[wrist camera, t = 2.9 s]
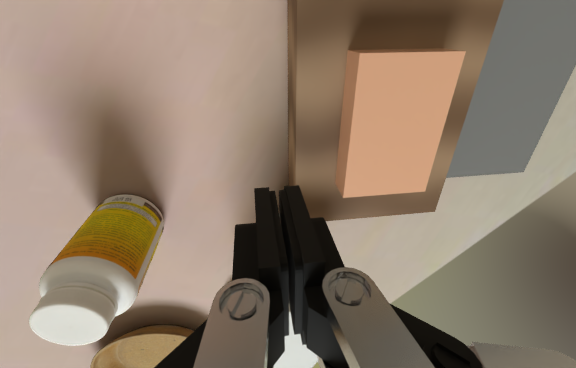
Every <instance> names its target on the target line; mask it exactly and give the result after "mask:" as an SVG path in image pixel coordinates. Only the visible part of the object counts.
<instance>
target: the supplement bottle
mask: <svg viewBox="0 0 576 368" xmlns="http://www.w3.org/2000/svg"><path fill="white" fill-rule="evenodd" d="M163 229H164V219H163V216H162V214H161V212H160V211H159V209H158V208H157V207H156V206H155V205H154V204H153V203H151V202H150V201H148V200H146V199H144V198H142V197H139V196H135V195H127V194H124V195H116V196H112V197H109V198H107V199H105V200H104V201H103V202H101V203H100V204H99V205H98V206H97V208H96V209H95V210H94V211H93V212H92V214H91V215H90V216H89V217H88V219H87V220H86V221H85V222H84V224H83V225H82V226H81V227H80V228H79V230H78V231H77V232H76V233H75V235H74V236H73V237H72V238H71V240H70V241H69V242H68V243H67V245H66V246H65V247H64V248H63V250H62V251H61V252H60V253H59V254H58V256H57V257H56V258H55V259H54V261H53V262H52V263H51V264H50V265H49V267H48V268H47V269H46V271H45V272H44V274H43V275H42V277H41V279H40V283H39V290H40V294H41V296H42V298H41V300H40V302H39V304H38V305H37V307H36V308H35V309H34V311H33V312H32V314H31V315H30V318H29V324H30V327H31V329H32V330H33V332H34V333H36V334H37V335H38V336H39V337H41V338H43V339H45V340H47V341H50V342H53V343H56V344H61V345H70V346H77V345H86V344H90V343H93V342H96V341H98V340H99V339H101V338H102V337H103V336H104V335H105V334H106V333H107V331H108V329H109V327H110V324H111V322H112V321H113V319H114V318H115V316H118V315H120V314H122V313H123V312H125V311H126V310H128V309H129V308H130V307H131V306H132V304H133V303H134V301H135V299H136V297H137V295H138V293H139V290H140V288H141V285H142V283H143V280H144V278H145V275H146V273H147V270H148V268H149V265H150V263H151V260H152V258H153V255H154V253H155V250H156V248H157V245H158V243H159V240H160V237H161V235H162V232H163Z"/></svg>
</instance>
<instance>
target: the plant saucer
mask: <svg viewBox="0 0 576 368" xmlns="http://www.w3.org/2000/svg"><path fill="white" fill-rule="evenodd" d="M193 332H194V331H193V330H190V329H188V328H184V327H180V326H174V325H153V326H147V327H143V328H139V329H137V330H134V331H132V332H129V333H127V334H125V335H123V336H121V337H119V338H117V339H115V340H114V341H112V342H111V343H109V344H108V345H106V346H105V347H104V348H102V349H101V350H100V351H99V352H98V353H97V354H96V355H95V356H94V358H93V360H92V363H91V366H90V367H91V368H154V367H155V366H156V365H157V364H158V363H160V362H161V361H162V360H163V359H164V358H165V357H166V356H167V355H168V354H170V353H171V352H172V351H173V350H174V349H175V348H176V347H177V346H178V345H180V344H181V343H182V342H183V341H184V340H185V339H186V338H187V337H188V336H189V335H191V334H192V333H193Z"/></svg>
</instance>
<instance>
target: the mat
mask: <svg viewBox="0 0 576 368" xmlns="http://www.w3.org/2000/svg"><path fill="white" fill-rule="evenodd" d="M575 65H576V0H504V2H503V5H502V8H501V11H500V14H499V17H498V20H497V23H496V26H495V29H494V32H493V35H492V38H491V41H490V44H489V47H488V50H487V54H486V57H485V60H484V63H483V66H482V69H481V72H480V75H479V78H478V81H477V84H476V87H475V90H474V93H473V96H472V99H471V102H470V106H469V109H468V112H467V115H466V118H465V121H464V124H463V127H462V130H461V133H460V136H459V139H458V142H457V145H456V148H455V151H454V154H453V158H452V161H451V164H450V167H449V170H448V173H447V176H446V178H449V177H463V176H477V175H490V174H504V173H518V172H524V170H525V168H526V166H527V164H528V162H529V160H530V158H531V156H532V154H533V152H534V150H535V148H536V146H537V144H538V142H539V139H540V137H541V135H542V133H543V131H544V129H545V127H546V125H547V123H548V121H549V119H550V117H551V115H552V113H553V111H554V109H555V106H556V104H557V102H558V100H559V98H560V96H561V94H562V92H563V90H564V88H565V86H566V84H567V82H568V80H569V78H570V76H571V74H572V71H573V69H574V67H575Z"/></svg>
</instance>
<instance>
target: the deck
mask: <svg viewBox="0 0 576 368" xmlns="http://www.w3.org/2000/svg"><path fill="white" fill-rule="evenodd" d="M503 2H504V0H288V176H289V186H295V185H299V186H300V189H301V192H302V195H303V198H304V201H305V204H306V207H307V209H308V212H309V215H310V218H318V217H323V218H324V220H325V221H333V220H344V219H355V218H367V217H378V216H390V215H401V214H413V213H424V212H435V210H436V206H437V203H438V200H439V197H440V194H441V191H442V188H443V185H444V182H445V179H446V176H447V173H448V170H449V167H450V164H451V161H452V158H453V154H454V151H455V148H456V145H457V142H458V139H459V136H460V133H461V130H462V127H463V124H464V121H465V118H466V115H467V112H468V109H469V106H470V102H471V99H472V96H473V93H474V90H475V87H476V84H477V81H478V78H479V75H480V72H481V69H482V66H483V63H484V60H485V57H486V54H487V50H488V47H489V44H490V41H491V38H492V35H493V32H494V29H495V26H496V23H497V20H498V17H499V14H500V11H501V8H502V5H503ZM435 48H445V49H453V50H461V51H466V53H465V56H464V60H463V63H462V67H461V70H460V73H459V77H458V80H457V84H456V87H455V91H454V94H453V97H452V101H451V104H450V108H449V111H448V115H447V118H446V122H445V125H444V128H443V132H442V135H441V139H440V142H439V146H438V149H437V152H436V156H435V159H434V163H433V166H432V170H431V173H430V176H429V180H428V183H427V187H426V190H425V192H413V193H400V194H387V195H375V196H362V197H349V198H343V197H342V195H341V193H340V191H339V189H338V188H337V186H336V184H335V180H336V169H337V158H338V148H339V137H340V126H341V116H342V105H343V95H344V84H345V73H346V63H347V52H348V50H379V49H435Z"/></svg>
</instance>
